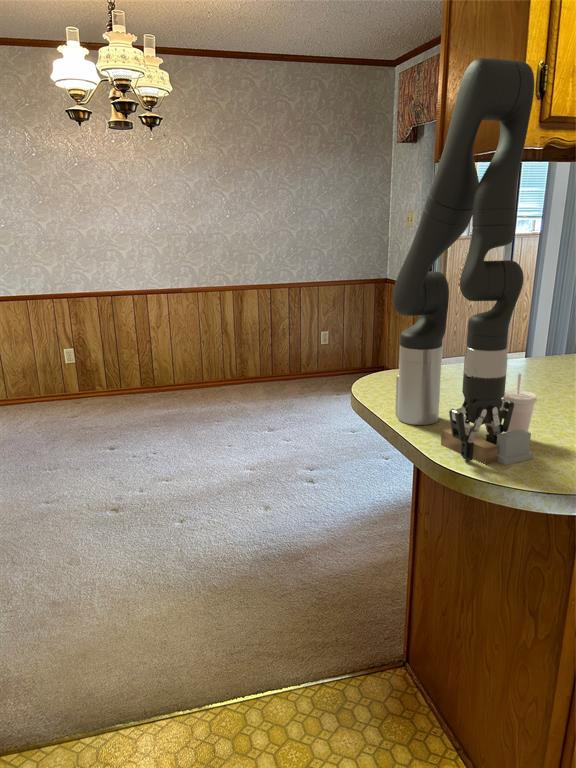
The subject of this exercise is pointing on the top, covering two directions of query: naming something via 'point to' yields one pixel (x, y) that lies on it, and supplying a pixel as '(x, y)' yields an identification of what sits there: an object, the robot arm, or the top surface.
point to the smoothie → (520, 407)
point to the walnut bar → (481, 449)
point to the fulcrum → (513, 447)
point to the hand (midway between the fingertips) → (478, 456)
